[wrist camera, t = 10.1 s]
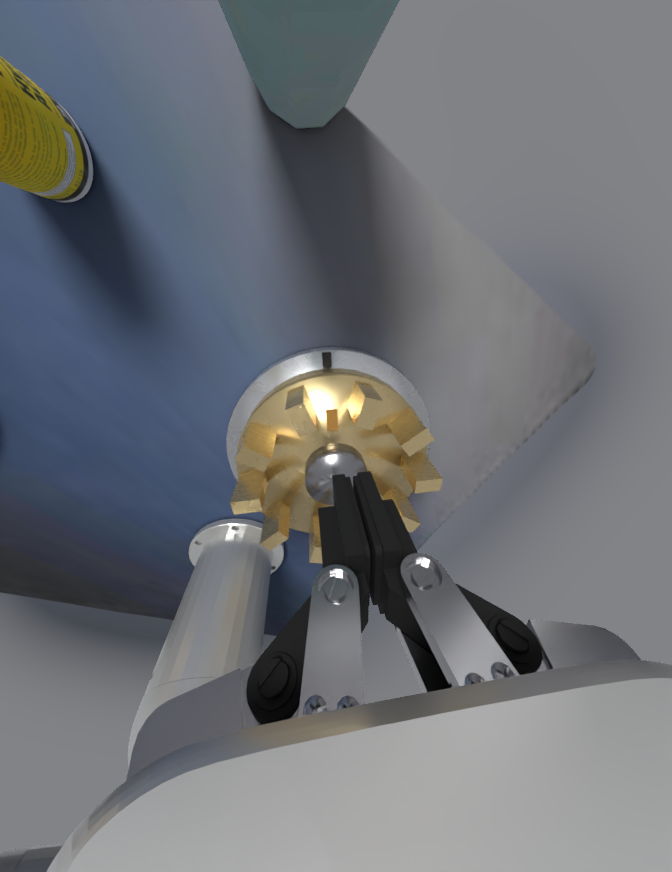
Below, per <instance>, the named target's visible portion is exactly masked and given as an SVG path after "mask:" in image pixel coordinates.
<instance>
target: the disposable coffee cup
mask: <svg viewBox="0 0 672 872" xmlns="http://www.w3.org/2000/svg"><path fill="white" fill-rule="evenodd" d="M218 1H219V3H220V6H221V8H222V10H223V13H224V15H225V17H226V20H227V22H228V24H229V27H230V29H231V31H232V34H233V36H234V39H235V41H236V43H237V46H238V48H239V50H240V53H241V55H242V57H243V60H244V62H245V64H246V67H247V69H248V71H249V73H250V75H251V77H252V79H253V81H254V83H255V84H256V86H257V88H258V90H259V92H260V93H261V95H262V97H263V99H264V101H265V103H266V104H267V106H268V108H269V110H271V111H272V112H273V113H275V114H276V115H278V116H279V117H280V118H282V119H283V120H285V121H286V122H288V123H289V124H290V125H292V126H293V127H295V128H313V127H323V126H324V125H326V124H327V123H328V122H329V121H330V120H331V119H332V118H333V117H334V116H335V115H336V114H337V113H338V112H339V111H340V110H341V109H342V108H343V107H344V106H345V105H346V103H347V101H348V99H349V97H350V95H351V93H352V91H353V89H354V87H355V85H356V83H357V81H358V79H359V77H360V76H361V74H362V72H363V70H364V68H365V66H366V64H367V62H368V60H369V58H370V56H371V54H372V53H373V51H374V49H375V47H376V45H377V43H378V41H379V39H380V37H381V35H382V33H383V31H384V29H385V27H386V25H387V24H388V22H389V20H390V18H391V16H392V14H393V12H394V10H395V8H396V6H397V4H398V2H399V0H218Z"/></svg>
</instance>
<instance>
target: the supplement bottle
mask: <svg viewBox="0 0 672 872" xmlns="http://www.w3.org/2000/svg"><path fill="white" fill-rule="evenodd" d="M92 180H93V164H92V158H91V154H90V150H89V147H88V145H87V142H86V140H85V138H84V136H83V134H82V132H81V130H80V129H79V127H78V126H77V124H76V123H75V121H74V120H73V118H72V117H71V116H70V115H69V113H68V112H67V111H66V110H65V109H64V108H63V107H62V106H61V105H60V104H59V103H58V102H57V101H56V100H55V99H54V98H52V97H51V96H50V95H49V94H48V93H47V92H45V91H44V90H43V89H42V88H40V87H39V86H38V85H36V84H35V83H34V82H33V81H32V80H30V79H29V78H27V77H26V76H25V75H24V74H22V73H21V72H20V71H18V70H17V69H16V68H15V67H13V66H12V65H11V64H10V63H8V62H7V61H6V60H5V59H3V58H2V57H1V56H0V181H2V182H4V183H7V184H10V185H12V186H15V187H18V188H20V189H23V190H25V191H28V192H31V193H33V194H36V195H39V196H41V197H44V198H47V199H50V200H54V201H57V202H74V201H77V200H79V199H81V198H82V197H84V196H85V195H86V194H87V192H88V191H89V189H90V187H91V184H92Z"/></svg>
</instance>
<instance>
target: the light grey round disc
mask: <svg viewBox="0 0 672 872" xmlns="http://www.w3.org/2000/svg"><path fill="white" fill-rule="evenodd" d="M326 368H343V369H351V370H356V371H360V372H364V373H367V374H370V375H372V376H374V377H377V378H379V379H381V380H382V381H384V382H386V383H387V384H389V385H390V386H391V387H392V388H394V389H395V390H396V391H397V392H398V393H399V394H400V395H401V396H402V397H403V398H404V399H405V400H406V401H407V403H408V404H409V405H410V406H411V407H412V408H413V409H414V411H415V412H416V414H417V416H418V417H419V419H420V421H421V422H422V424H423V425H424V426H425V427H426V428H427V429H428V431H429V432H430V422H429V416H428V412H427V409H426V406H425V404H424V402H423V400H422V398H421V396H420V394H419V392H418V391H417V390H416V388H415V387H414V386H413V384H412V383H411V382H410V381H409V380H408V379H407V378H406V377H405V376H404V375H403V374H402V373H400V372H399V371H398V370H397V369H396V368H394V367H393V366H392V365H390V364H389V363H387V362H386V361H384V360H383V359H381V358H379V357H377V356H375V355H373V354H370V353H367V352H364V351H361V350H357V349H352V348H347V347H333V346H328V347H317V348H311V349H307V350H302V351H299V352H296V353H293V354H291V355H288V356H286V357H284V358H282V359H280V360H278V361H276V362H275V363H273V364H271V365H270V366H269V367H267V368H266V369H265V370H263V371H262V372H261V373H260V374H259V375H258V376H257V377H256V378H255V379H254V380H253V381H252V382H251V383H250V385H249V386H248V387H247V389H246V390H245V391H244V393H243V394H242V396H241V398H240V400H239V401H238V403H237V405H236V407H235V409H234V411H233V413H232V416H231V419H230V422H229V426H228V432H227V454H228V460H229V464H230V467H231V470H232V472H233V474H234V476H235V478H236V480H237V481H238V478H239V477H238V473H237V466H236V460H235V457H236V455H237V447H238V443H239V440H240V437H241V434H242V432H243V429H244V427H245V425H246V423H247V421H248V418H249V416H250V414H251V413H252V411H253V410H254V408H255V407H256V405H257V404H258V403H259V402H260V401H261V399H262V398H263V397H264V396H265V395H266V394H267V393H269V392H270V391H271V390H272V389H273V388H275V387H276V386H278V385H279V384H281V383H283V382H284V381H286V380H288V379H290V378H292V377H294V376H297V375H299V374H302V373H306V372H309V371H313V370H319V369H326ZM429 446H430V443H429V444H428V445H427V454H428V450H429Z"/></svg>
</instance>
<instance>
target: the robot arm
mask: <svg viewBox="0 0 672 872" xmlns="http://www.w3.org/2000/svg"><path fill="white" fill-rule="evenodd" d="M332 484H333V499H334V506H330V507H321V508H318V515H319V527H320V540H321V552H322V564H323V569H322V570H321V571H320V572H318V574H317V575H316V577H315V578H314V582H313V586H312V595H311V596H310V597H309V598H308V600H307V601H306V602H305V603H304V604H303V606H302V607H301V608H300V609H299V610H298V612H297V613H296V614H295V615H294V616H293V618H292V619H291V620H290V621H289V622H288V624H287V625H286V626H285V627H284V628H283V630H282V631H281V632H280V633H279V634H278V636H277V637H276V638H275V639H274V641H273V642H272V643H271V644H270V645H269V647H268V648H267V649H266V650H265V651H264V653H263V654H262V655H261V652H262V643H263V635H264V626H265V618H266V609H267V600H268V592H269V583H270V575H271V574H272V573H273V572H274V571H275V570H277V568H278V567H279V566H280V565H281V563H282V561H283V557H284V544H283V543H281V544H280V545H278V546H277V547H275V548H274V549H272V550H271V551H270V550H268V549H267V548H265V547H263V546H262V545H260V539H261V533H262V527H263V524H262V523H259V522H256V521H253V520H248V519H235V518H234V519H224V520H220V521H216V522H213V523H211V524H208V525H206V526H205V527H203V528H202V529H200V530H199V531H198V532H197V533H196V534H195V536H194V538H193V539H192V542H191V544H190V546H189V557H190V560H191V562H192V564H193V565H194V566H195V568H194V570H193V573H192V575H191V578H190V580H189V583H188V585H187V588H186V590H185V593H184V595H183V598H182V600H181V603H180V606H179V608H178V611H177V613H176V616H175V618H174V621H173V623H172V626H171V628H170V631H169V633H168V636H167V639H166V641H165V643H164V647H163V648H162V651H161V654H160V656H159V659H158V661H157V664H156V666H155V669H154V671H153V674H152V676H151V679H150V682H149V684H148V687H147V689H146V692H145V695H144V697H143V699H142V701H141V704H140V707H139V709H138V712H137V715H136V717H135V720H134V723H133V726H132V730H131V735H130V739H129V748H128V766H129V770H128V774H127V780H126V782H125V783H123V784H122V785H121V786H119V787H118V788H116V789H115V790H114V791H113V792H112V793H111V794H110V795H108V796H107V797H106V798H105V799H104V800H103V801H102V802H101V803H100V804H99V805H97V806H96V807H95V808H94V809H93V810H92V811H91V812H90V814H88V816H86V818H85V819H84V820H83V821H82V822H81V823H80V824H79V825H78V826H77V828H76V829H75V830H74V831H73V833H72V834H71V835H70V836H69V838H68V839H67V841H66V842H65V843H59V844H51V845H42V846H33V847H29V848H22V849H15V850H9V851H4V852H0V872H672V665H670V664H665V663H661V662H654V661H646V660H641V659H640V658H639V656H638V655H637V654H636V653H635V651H634V650H633V649H632V648H631V647H630V646H629V645H628V644H627V643H626V642H625V641H623V640H622V639H621V638H620V637H619V636H617V635H616V634H614V633H612V632H610V631H609V630H607V629H605V628H601V627H598V626H593V625H583V624H574V623H564V622H554V621H544V620H534V619H529V620H528V622H523V621H520V620H519V619H518V618H516V617H515V616H513V615H511V614H509V613H508V612H506V611H504V610H502V609H500V608H499V607H497V606H495V605H493V604H491V603H490V602H488V601H486V600H484V599H483V598H481V597H479V596H477V595H475V594H474V593H472V592H470V591H468V590H466V589H464V588H463V587H461V586H459V585H458V584H455V583H454V581H453V580H452V578H451V577H450V575H449V574H448V573H447V571H446V570H445V568H444V567H443V566H442V565H441V564H440V563H439V561H438V560H436V559H435V558H433V557H432V556H429V555H427V554H423V553H417V550H416V548H415V546H414V544H413V542H412V540H411V537H410V535H409V533H408V531H407V529H406V526H405V524H404V522H403V520H402V518H401V516H400V513H399V511H398V509H397V507H396V505H395V503H394V501H393V500H392V499H387V500H382V498H381V496H380V493H379V491H378V489H377V486H376V484H375V481H374V479H373V476H372V474H371V472H370V471H365V472H358V473H357V476H353V486H352V483H351V479H350V477H345V474H338V475H332ZM369 593H370V595H371V599H372V603H373V605H377V604H378V607H379V611H380V614H384V613H385V616H386V619H387V620H388V621H390V622H391V623H392V624H394V626H395V629H396V632H397V635H398V637H399V640H400V642H401V644H402V647H403V649H404V651H405V654H406V656H407V658H408V661H409V663H410V666H411V668H412V670H413V673H414V675H415V677H416V680H417V682H418V684H419V687H420V689H421V691H422V693H421V694H416V695H411V696H405V697H400V698H395V699H390V700H384V701H379V702H374V703H369V704H365V701H364V682H363V681H364V680H363V660H362V642H361V641H362V640H361V633H362V631H363V630H364V628H365V626H366V625H367V622H368V606H369Z"/></svg>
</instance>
